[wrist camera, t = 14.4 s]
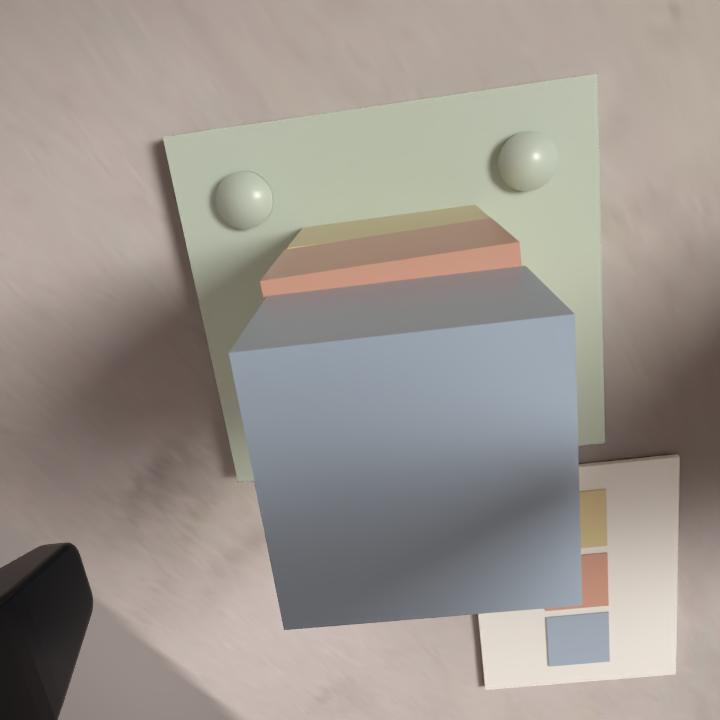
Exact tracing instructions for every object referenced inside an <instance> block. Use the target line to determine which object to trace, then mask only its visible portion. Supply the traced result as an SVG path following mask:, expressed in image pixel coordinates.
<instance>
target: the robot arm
mask: <svg viewBox="0 0 720 720" xmlns="http://www.w3.org/2000/svg"><path fill="white" fill-rule="evenodd" d="M92 609H93V596H92V592H91V588H90V585H89V582H88V579H87V576H86V572H85V569H84V566H83V563H82V560H81V557H80V554H79V551H78V549H77V548H76V547H75V546H74V545H73V544H71V543H57V544H48V545H42V546H39V547H37V548H35V549H34V550H32V551H30V552H28V553H27V554H25V555H23V556H21V557H19V558H18V559H16V560H14V561H12V562H11V563H9V564H7V565H5V566H3V567H2V568H0V720H58V717H59V714H60V711H61V708H62V706H63V703H64V700H65V696H66V693H67V690H68V687H69V684H70V681H71V677H72V674H73V671H74V668H75V665H76V661H77V658H78V655H79V652H80V649H81V645H82V643H83V640H84V636H85V633H86V630H87V627H88V624H89V621H90V617H91V614H92Z"/></svg>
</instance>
